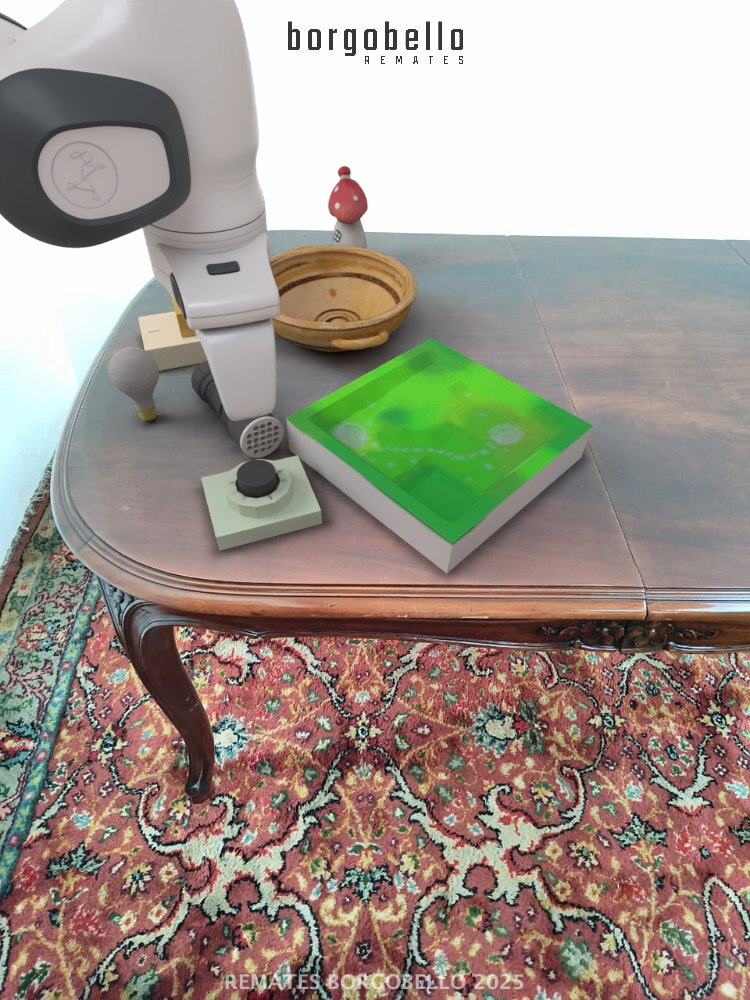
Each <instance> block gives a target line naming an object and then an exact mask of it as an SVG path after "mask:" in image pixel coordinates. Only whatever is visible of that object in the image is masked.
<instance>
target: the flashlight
mask: <svg viewBox="0 0 750 1000" xmlns="http://www.w3.org/2000/svg"><path fill="white" fill-rule="evenodd" d="M190 381H191V387H192V389H193V391H194V392H195V394H197V396H198V397H199V399H200V400H202V402H204V403H206V404H208V405H209V406H210V408H211V409H212V410H214V411H215V412H216V413H217V414H218V415H219V416H220V417H221V423H222V424H223V426H224V427H225V429H227V431H228V432H229V434H230V437H231V439H232V440H233V441H234V442H235V443H236V445H237V446H238V447H239V448H240V450H241V451H242V452H243V453H244V454H245V456H247V457H249V458H254V459H261V458H264V457H266V456H268V455H270V454H272V453H273V452H274V451H275V450H276V449H277V448H278V447H279V446H280V444H281V443H282V441H283V438H284V426H283V424H282V423H281V422H280V420H279V419H277V417H275V415H274V414H273V413H272V412H271V413H269V414H267V415H263V416H259V417H254V418H249V419H244V420H238V421H233V420H231V419H229V418H228V416H227V414H226V412H225V410H224V407H223V405H222V402H221V399H220V396H219V393H218V390H217V387H216V384H215V381H214V378H213V375H212V372H211V369H210V366H209V364H208V361H204V362H202V363H199V364H196V366H195V367H194V369H193V371H192V372H191V377H190Z"/></svg>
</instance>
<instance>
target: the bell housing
mask: <svg viewBox="0 0 750 1000" xmlns="http://www.w3.org/2000/svg"><path fill="white" fill-rule="evenodd" d="M255 460H265V461H268V462H270V463H271V464H272V465H273V466H274V467H275V470H276V477H277V487H276V489H275V490H274V491H273V492H272V493H271V494H269V495H267V496H265V497H260V498H251V497H248V496H245V495H244V494H243V493H242V492H241V491H240V489H239V485H238V480H237V471H238V469H239V467H240V466H241V465H243V464H244V463H246V462H248V461H249V460H248V461H243V462H240V464H238V465H237V466H235V467H234V468H232V469H230V470H227V471H224V472H219V473H216V474H211V475H207V476H202V477H201V478H200V480H201V483H202V488H203V492H204V496H205V500H206V504H207V508H208V511H209V515H210V519H211V524H212V527H213V533H214V535H215V539H216V544H217V547H218V550H219V552H220V551H224V550H229V549H233V548H236V547H240V546H244V545H248V544H251V543H254V542H259V541H262V540H266V539H270V538H274V537H277V536H282V535H285V534H288V533H292V532H296V531H300V530H304V529H307V528H312V527H315V526H319V525H322V524H323V517H322V516H323V515H322V509H321V506H320V504H319V502H318V499H317V497H316V494H315V492H314V490H313V487H312V484H311V482H310V480H309V478H308V476H307V473H306V471H305V469H304V466H303V464H302V460H301V459H300V458H299V456H298V455H297V456H296V455H293V456H289V457H284V458H280V459H276V460H271V459H264V458H255Z"/></svg>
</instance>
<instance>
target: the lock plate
mask: <svg viewBox="0 0 750 1000" xmlns="http://www.w3.org/2000/svg"><path fill="white" fill-rule="evenodd" d="M138 324H139V327H140V328H139V329H140V334H141V338H142V343H143V348H144V350H145V351H147V352H148V353H149V354H150V355H151V356H152V357H153V358H154V360H155V361H156V363H157V366H158V369H159V372H161V371H165V370H171V369H178V368H183V367H188V366H194V365H199V364H200V363H202V362H204V361H207V358H206V355H205V352H204V350H203V347H202V344H201V342H200V340H199V337H198V335H197V333H196V331H195V330H194V333H195V335H194V336H188V337H181V333H180V329H179V325H178V321H177V317H176V313H175V310H174V311H168V312H163V313H155V314H149V315H148V314H147V315H143V316H138Z"/></svg>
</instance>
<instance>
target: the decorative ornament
mask: <svg viewBox="0 0 750 1000" xmlns="http://www.w3.org/2000/svg"><path fill="white" fill-rule="evenodd" d="M351 173H352V171H351V168H350V167H349V166H346V165H343V166H341V167H339V168H338V170H337V175H338V177H339V181H337V183H336V184H335V185H334V187H333V188H332V189H331V192H330V195H329V199H328V201H327V209H328V212H329V214H330V216H332V217H333V218H335V219H336V221H335V225H334V228H333V235H332V243H331V245H341V246H352V247H360V248H365V249H368V243H367V237H366V233H365V229H364V226H363V224H362V221H361V219H362V217H364V215H365V214H366V212H367V211H368V208H369V206H368V205H369V203H368V198H367V195H366V193H365V191H364V189H363V187H361V185H360V184H359V183H358V182H357V180H356V179H352V178H351Z"/></svg>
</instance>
